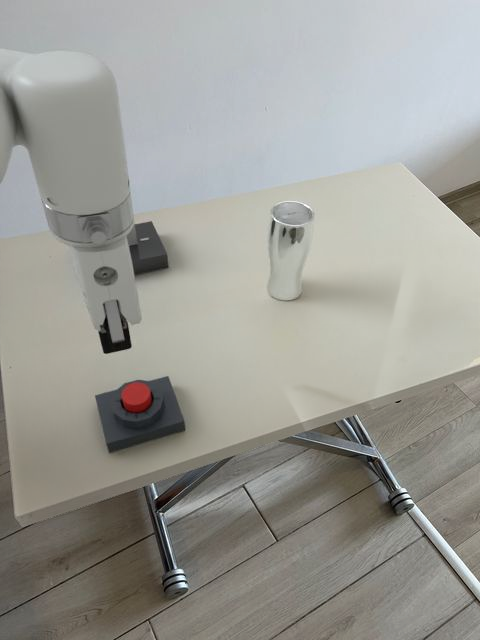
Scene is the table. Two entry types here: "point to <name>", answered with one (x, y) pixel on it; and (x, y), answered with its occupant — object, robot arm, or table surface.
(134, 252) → the panel
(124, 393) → the stop button
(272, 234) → the beer glass
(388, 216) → the table surface
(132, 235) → the hob knob
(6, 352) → the table surface
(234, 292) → the table surface
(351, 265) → the table surface
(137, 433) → the stop block
